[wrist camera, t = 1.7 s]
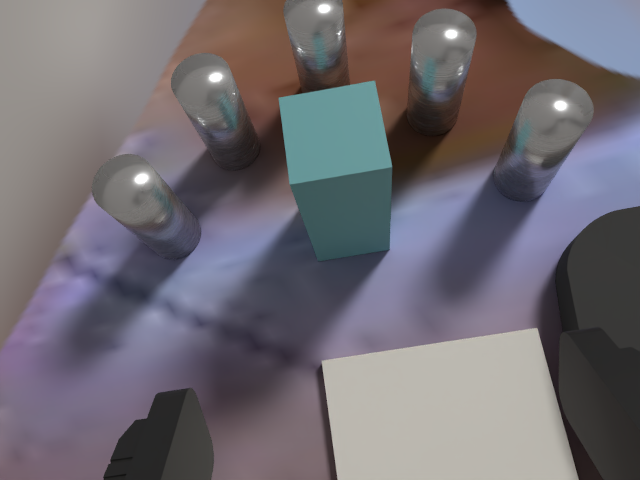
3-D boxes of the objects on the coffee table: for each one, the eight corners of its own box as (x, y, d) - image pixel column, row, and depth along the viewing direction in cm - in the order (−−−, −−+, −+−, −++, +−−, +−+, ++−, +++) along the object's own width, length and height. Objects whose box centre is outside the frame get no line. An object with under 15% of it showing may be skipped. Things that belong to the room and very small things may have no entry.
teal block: (377, 185, 32) (374, 80, 23) (389, 249, 31) (392, 166, 21) (308, 196, 32) (278, 97, 23) (318, 261, 31) (289, 184, 22)
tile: (534, 329, 28) (537, 327, 28) (601, 574, 25) (605, 576, 24) (322, 362, 29) (321, 360, 28) (355, 605, 25) (355, 608, 25)
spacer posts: (505, 36, 34) (534, -58, 28) (555, 196, 31) (602, 130, 24) (146, 101, 36) (93, 25, 29) (151, 262, 32) (91, 218, 25)
